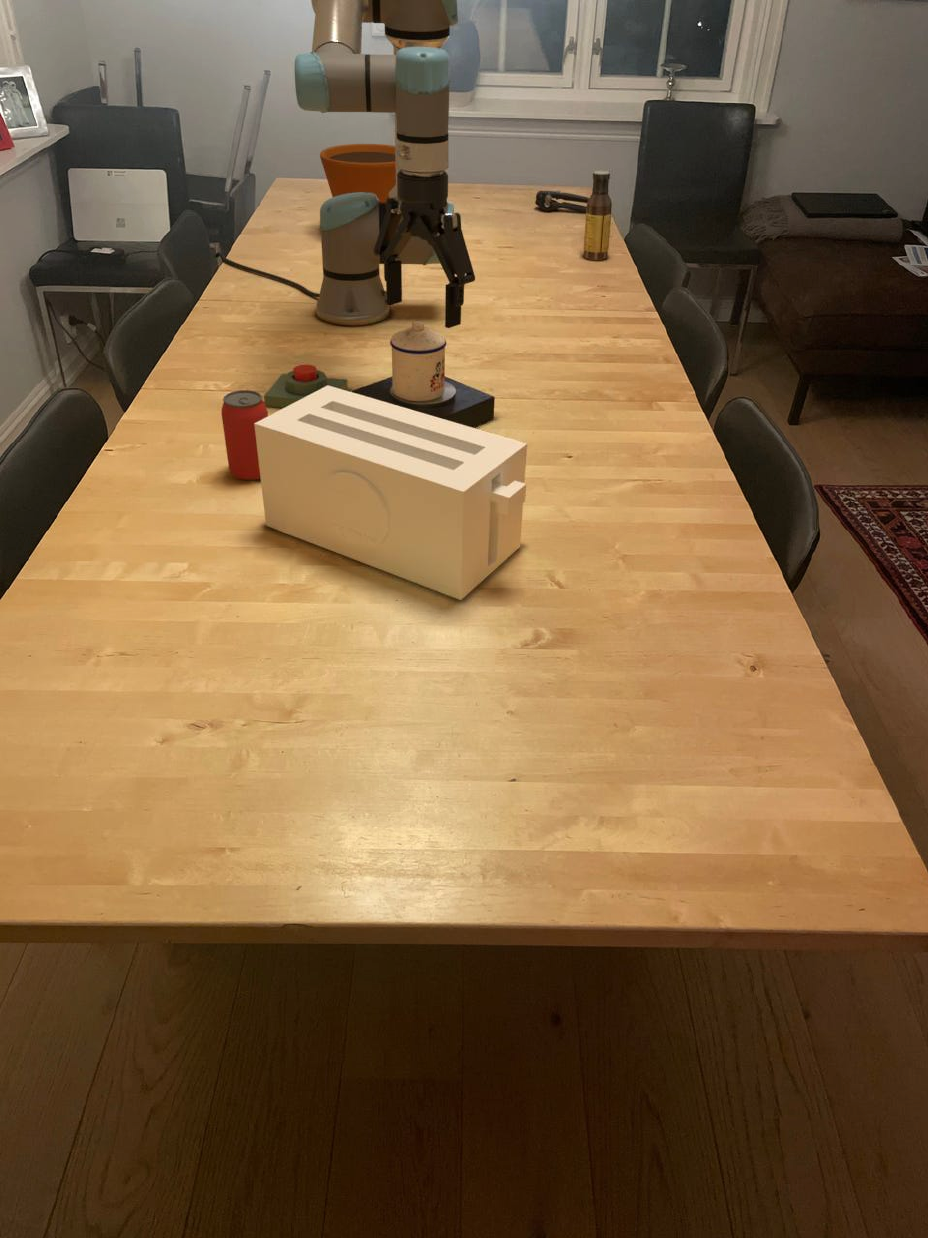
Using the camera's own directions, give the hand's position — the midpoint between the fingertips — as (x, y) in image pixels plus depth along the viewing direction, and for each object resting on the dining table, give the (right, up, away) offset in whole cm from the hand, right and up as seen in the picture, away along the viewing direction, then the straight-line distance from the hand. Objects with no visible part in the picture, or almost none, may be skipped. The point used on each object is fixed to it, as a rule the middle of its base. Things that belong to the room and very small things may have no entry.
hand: (422, 314), depth 153 cm
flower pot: (-18, +52, +99) cm, 113 cm away
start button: (-21, -7, +13) cm, 25 cm away
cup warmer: (0, -14, +10) cm, 17 cm away
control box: (-21, -10, +15) cm, 27 cm away
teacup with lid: (-1, -10, +8) cm, 13 cm away
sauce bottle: (+39, +42, +88) cm, 105 cm away
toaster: (-2, -38, -22) cm, 44 cm away
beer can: (-26, -26, -7) cm, 38 cm away
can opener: (+36, +69, +124) cm, 147 cm away
